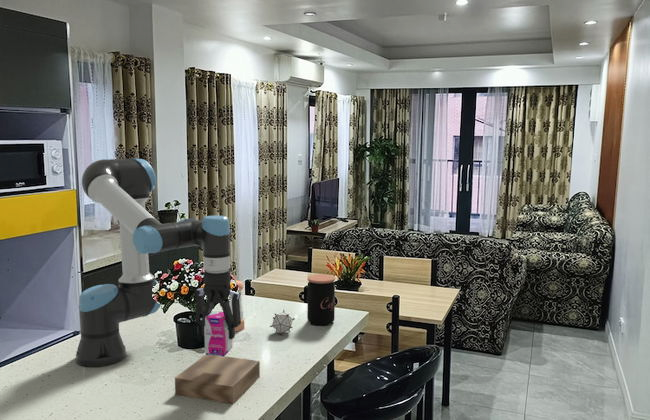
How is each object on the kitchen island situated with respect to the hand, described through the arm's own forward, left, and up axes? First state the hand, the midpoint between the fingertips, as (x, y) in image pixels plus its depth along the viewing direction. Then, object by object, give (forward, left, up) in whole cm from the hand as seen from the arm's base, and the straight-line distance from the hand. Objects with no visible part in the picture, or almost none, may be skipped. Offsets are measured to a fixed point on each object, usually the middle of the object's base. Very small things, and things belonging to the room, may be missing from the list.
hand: (218, 347), depth 160 cm
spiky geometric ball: (+2, +46, -12) cm, 48 cm away
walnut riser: (0, 0, -12) cm, 12 cm away
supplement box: (0, 0, -2) cm, 2 cm away
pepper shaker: (-17, +45, -12) cm, 50 cm away
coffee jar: (+12, +62, -12) cm, 64 cm away
